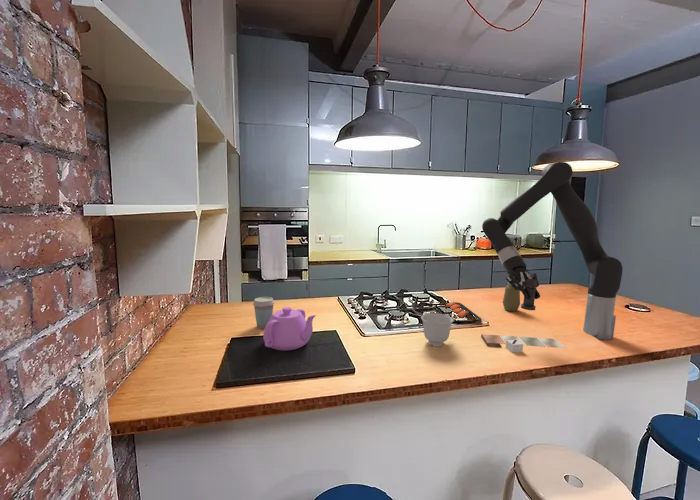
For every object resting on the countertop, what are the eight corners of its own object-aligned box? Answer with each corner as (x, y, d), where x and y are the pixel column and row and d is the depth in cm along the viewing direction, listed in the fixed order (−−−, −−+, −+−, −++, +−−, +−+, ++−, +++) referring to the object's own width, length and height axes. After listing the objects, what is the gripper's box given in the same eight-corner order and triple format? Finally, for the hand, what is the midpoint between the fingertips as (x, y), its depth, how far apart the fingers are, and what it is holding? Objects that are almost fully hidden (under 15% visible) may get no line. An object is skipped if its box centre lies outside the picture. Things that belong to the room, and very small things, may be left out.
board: (555, 341, 133) (555, 338, 133) (566, 351, 124) (567, 348, 124) (481, 336, 137) (481, 333, 136) (487, 346, 128) (487, 342, 128)
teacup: (461, 341, 132) (463, 316, 130) (441, 353, 121) (443, 326, 120) (434, 332, 140) (435, 309, 139) (413, 342, 129) (414, 317, 128)
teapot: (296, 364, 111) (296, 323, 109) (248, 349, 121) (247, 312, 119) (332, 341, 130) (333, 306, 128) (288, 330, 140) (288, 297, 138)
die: (515, 350, 125) (516, 338, 124) (522, 354, 121) (523, 343, 120) (505, 350, 124) (506, 339, 123) (511, 355, 120) (512, 343, 119)
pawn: (532, 306, 131) (535, 277, 129) (537, 310, 126) (541, 280, 124) (519, 305, 131) (522, 276, 130) (523, 309, 126) (527, 279, 125)
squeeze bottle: (503, 306, 178) (506, 272, 176) (520, 309, 173) (524, 275, 171) (500, 310, 172) (503, 275, 169) (517, 313, 167) (521, 277, 164)
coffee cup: (278, 326, 143) (278, 299, 142) (260, 332, 137) (260, 303, 136) (267, 321, 149) (266, 295, 148) (249, 326, 143) (249, 299, 141)
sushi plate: (484, 325, 152) (484, 316, 151) (417, 325, 150) (418, 316, 149) (459, 305, 180) (460, 298, 180) (403, 305, 179) (404, 298, 178)
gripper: (503, 255, 130) (526, 294, 121) (531, 254, 135) (555, 292, 126) (492, 266, 136) (512, 304, 126) (519, 265, 141) (540, 302, 131)
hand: (533, 298), depth 126 cm, fingers closed on pawn, 3 cm apart
